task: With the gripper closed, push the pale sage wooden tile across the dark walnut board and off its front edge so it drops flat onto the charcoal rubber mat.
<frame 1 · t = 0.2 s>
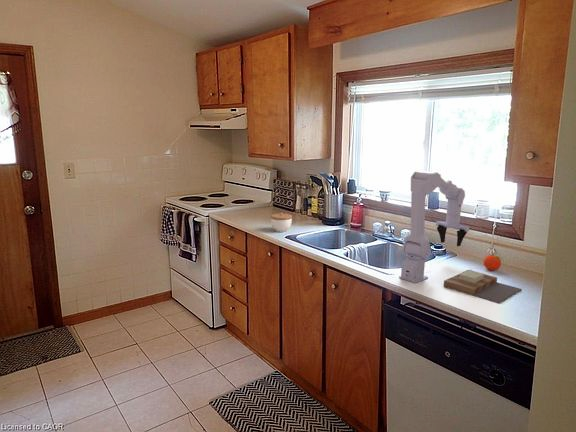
hand: (450, 244, 192), 10 cm above the countertop, tool pointing down, fingers open, 7 cm apart
lidded bowl: (281, 230, 255), on the countertop
tile: (471, 278, 169), point 2 cm above the countertop, touching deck
clementine: (492, 270, 187), on the countertop
mat: (497, 292, 162), on the countertop
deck: (470, 284, 170), on the countertop
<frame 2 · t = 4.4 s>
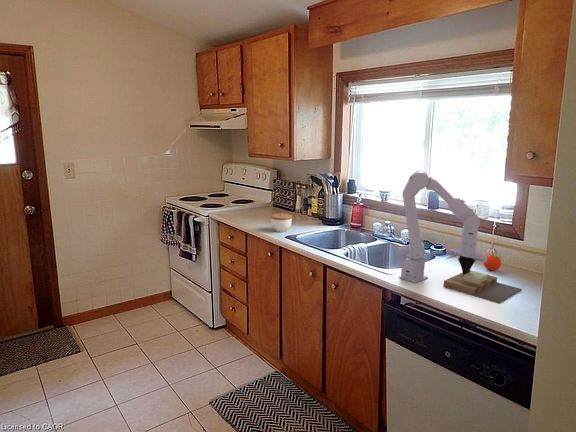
hand: (465, 275, 171), 3 cm above the countertop, tool pointing down, fingers closed
tile: (475, 279, 168), point 3 cm above the countertop, touching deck, gripper
everything else where it was.
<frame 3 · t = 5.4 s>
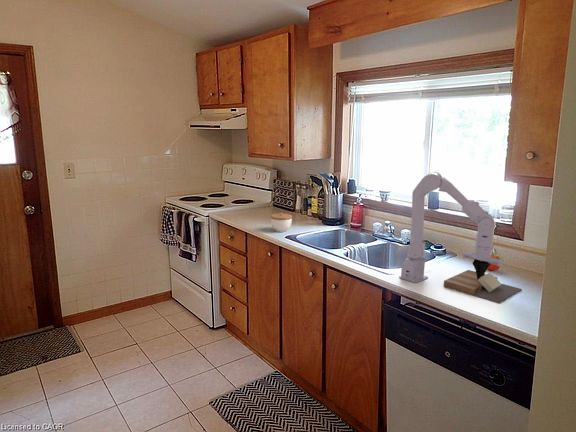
hand: (479, 279, 167), 3 cm above the countertop, tool pointing down, fingers closed
tile: (488, 283, 165), point 2 cm above the countertop, tilted 35°, touching gripper
everything else where it was.
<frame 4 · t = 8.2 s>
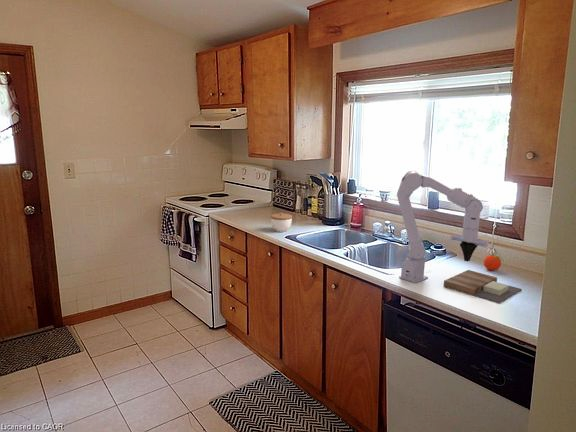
hand: (467, 260, 172), 9 cm above the countertop, tool pointing down, fingers closed
tile: (495, 290, 163), resting on mat
everything else where it was.
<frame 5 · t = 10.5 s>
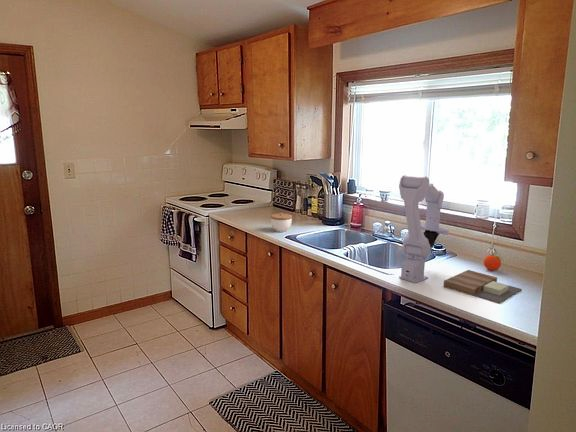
hand: (430, 247, 188), 9 cm above the countertop, tool pointing down, fingers closed
nothing on the countertop moved.
at the end: tile inside the target area (1.2 cm from its centre), point 0.5 cm above the countertop; tile touching mat; tile tilted 0° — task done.
